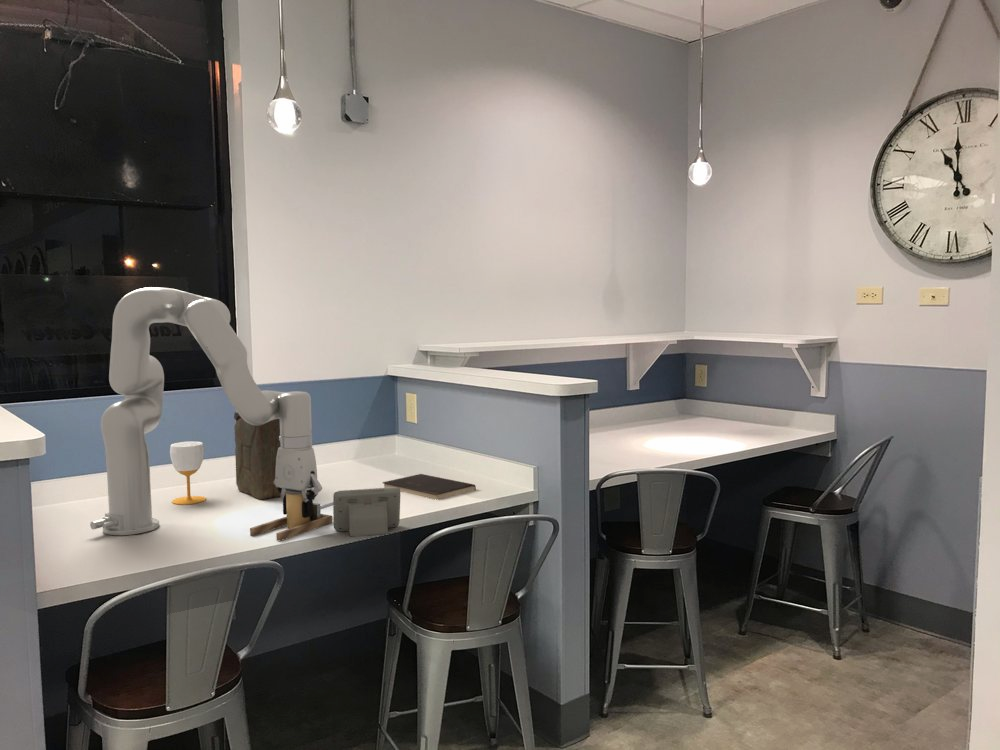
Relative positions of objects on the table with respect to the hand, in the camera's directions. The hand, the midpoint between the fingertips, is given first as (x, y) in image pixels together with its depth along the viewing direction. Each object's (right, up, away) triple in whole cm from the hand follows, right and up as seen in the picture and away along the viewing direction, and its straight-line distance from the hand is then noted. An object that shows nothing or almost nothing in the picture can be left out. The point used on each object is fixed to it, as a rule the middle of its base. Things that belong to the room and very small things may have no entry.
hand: (298, 514), depth 201 cm
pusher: (+4, -2, +7) cm, 8 cm away
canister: (-20, 0, +36) cm, 41 cm away
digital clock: (+18, -4, -3) cm, 18 cm away
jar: (0, -3, 0) cm, 3 cm away
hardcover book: (+29, 0, +40) cm, 49 cm away
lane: (-1, -3, -2) cm, 4 cm away
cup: (-37, -1, +27) cm, 46 cm away
